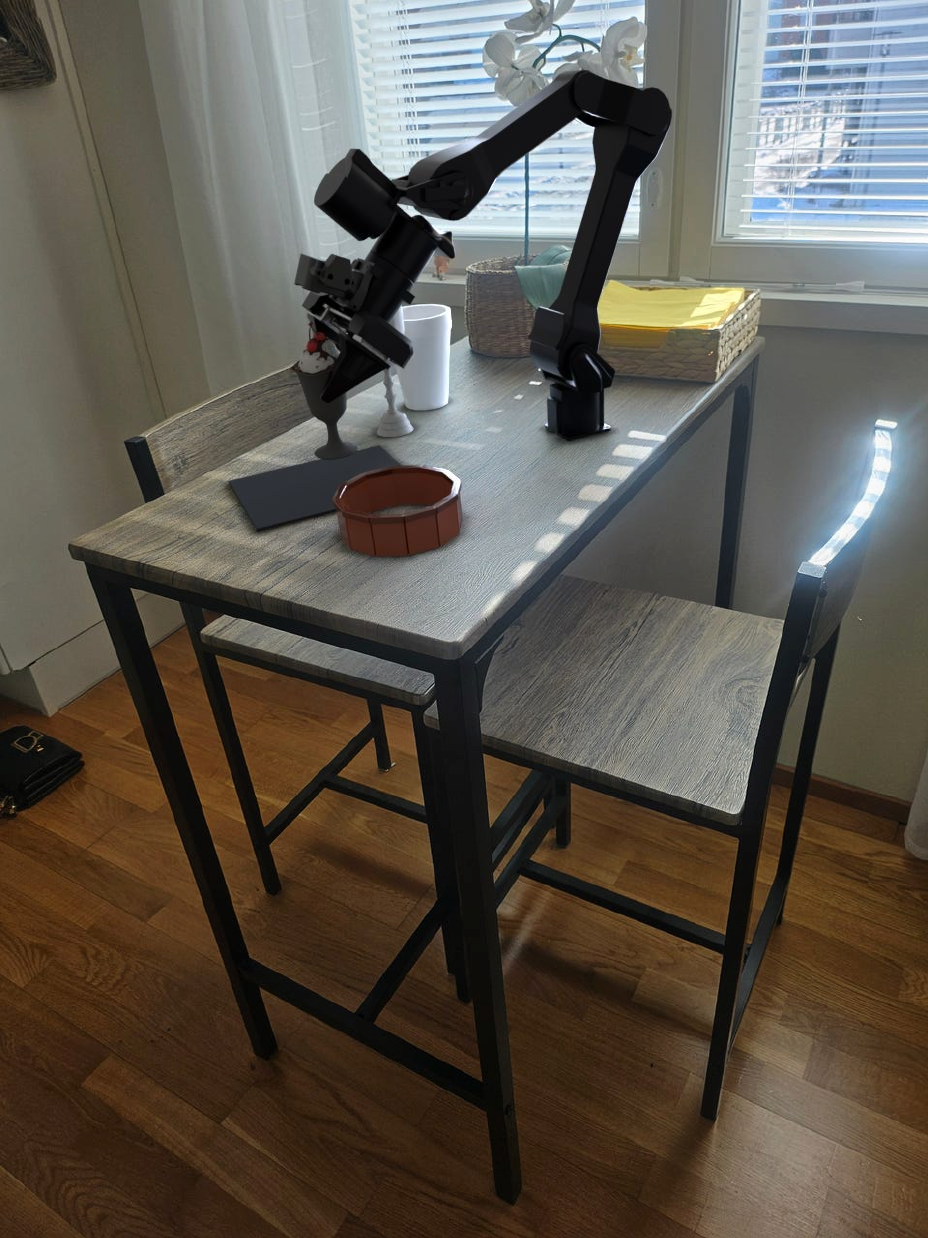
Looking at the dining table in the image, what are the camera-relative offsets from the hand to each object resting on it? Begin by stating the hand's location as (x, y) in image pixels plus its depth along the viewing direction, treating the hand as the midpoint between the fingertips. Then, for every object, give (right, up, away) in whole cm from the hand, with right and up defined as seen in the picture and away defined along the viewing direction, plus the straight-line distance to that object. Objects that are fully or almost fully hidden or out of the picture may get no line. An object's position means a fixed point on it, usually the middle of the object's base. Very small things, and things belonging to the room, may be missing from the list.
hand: (313, 393), depth 96 cm
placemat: (0, -9, +10) cm, 13 cm away
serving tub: (+10, -15, -2) cm, 18 cm away
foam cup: (+11, +7, +33) cm, 36 cm away
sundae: (+2, -6, +4) cm, 7 cm away
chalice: (+7, +1, +25) cm, 26 cm away
